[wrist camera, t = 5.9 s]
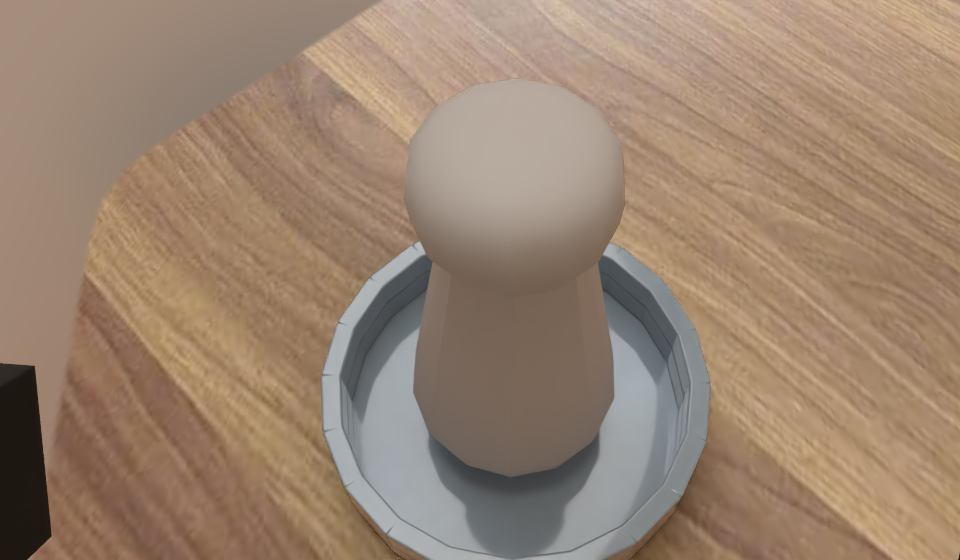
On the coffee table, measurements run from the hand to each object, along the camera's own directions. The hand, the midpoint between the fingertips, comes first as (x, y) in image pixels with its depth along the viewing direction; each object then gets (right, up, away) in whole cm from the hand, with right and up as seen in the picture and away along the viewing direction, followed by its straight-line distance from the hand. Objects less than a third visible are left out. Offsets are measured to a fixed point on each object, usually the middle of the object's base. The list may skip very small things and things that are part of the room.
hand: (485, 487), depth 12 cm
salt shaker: (+1, -1, +15) cm, 15 cm away
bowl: (+1, -1, +15) cm, 15 cm away
